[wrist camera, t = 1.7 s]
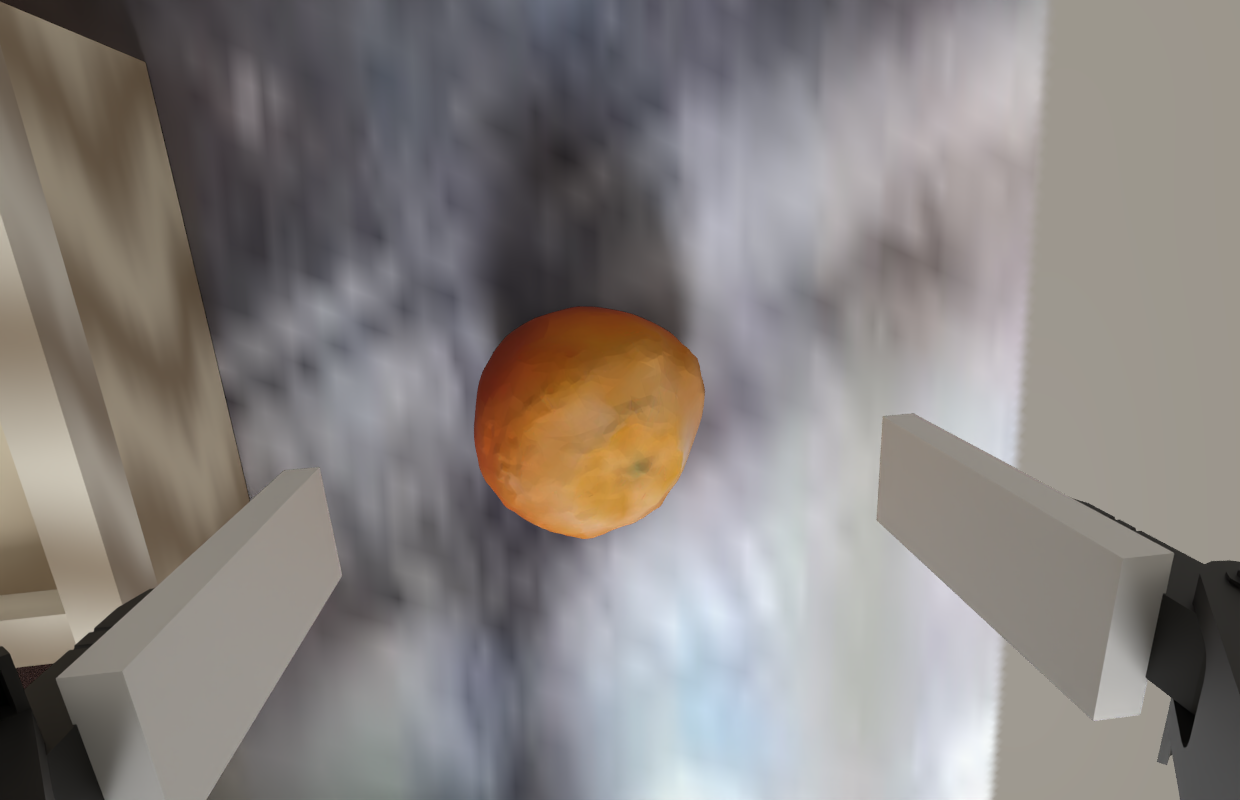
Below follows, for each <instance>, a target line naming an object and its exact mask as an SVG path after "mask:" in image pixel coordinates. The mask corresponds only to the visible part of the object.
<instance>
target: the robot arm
mask: <svg viewBox="0 0 1240 800" xmlns="http://www.w3.org/2000/svg"><path fill="white" fill-rule="evenodd" d="M877 521H878V522H879V523H880V524H881V525H882V526H884V527H885V528H886V529H887V530H888V531H889V532H890V533H891V534H892V535H893V536H894V537H895V538H896V539H898V540H899V541H900V542H901V543H902V544H903V545H904V546H905V547H906V548H907V549H908V550H909V551H910V552H912V553H913V554H914V555H915V556H916V557H917V558H918V559H919V560H920V561H921V562H922V563H923V564H924V565H925V566H927V567H928V568H929V569H930V570H931V571H932V572H933V573H934V574H935V575H936V576H937V577H938V578H939V579H941V580H942V581H943V582H944V583H945V584H946V585H947V586H948V587H949V588H950V589H951V590H952V591H953V592H955V593H956V594H957V595H958V596H959V597H960V598H961V599H962V600H963V601H964V602H965V603H966V604H967V605H969V606H970V607H971V608H972V609H973V610H974V611H975V612H976V613H977V614H978V615H979V616H980V617H981V618H983V619H984V620H985V621H986V622H987V623H988V624H989V625H990V626H991V627H992V628H993V629H994V630H995V631H997V632H998V633H999V634H1000V635H1001V636H1002V637H1003V638H1004V639H1005V640H1006V641H1007V642H1008V643H1009V644H1011V645H1012V646H1013V647H1014V648H1015V649H1016V650H1017V651H1018V652H1019V653H1020V654H1021V655H1022V656H1023V657H1025V658H1026V659H1027V660H1028V661H1029V662H1030V663H1031V664H1032V665H1033V666H1034V667H1035V668H1036V669H1037V670H1039V671H1040V672H1041V673H1042V674H1043V675H1044V676H1045V677H1046V678H1047V679H1048V680H1049V681H1050V682H1051V683H1053V684H1054V685H1055V686H1056V687H1057V688H1058V689H1059V690H1060V691H1061V692H1062V693H1063V694H1064V695H1066V696H1067V697H1068V698H1069V699H1070V700H1071V701H1072V702H1073V703H1074V704H1075V705H1076V706H1077V707H1078V708H1079V709H1081V710H1082V711H1083V712H1084V713H1085V714H1086V715H1087V716H1088V717H1089V718H1090V719H1091V720H1093V721H1097V720H1105V719H1112V718H1120V717H1127V716H1134V715H1140V713H1141V709H1142V704H1143V699H1144V694H1145V690H1146V685H1147V680H1149V681H1151V682H1152V683H1153V684H1155V685H1156V686H1157V687H1158V688H1160V689H1161V690H1162V691H1164V692H1165V693H1166V694H1167V695H1169V696H1170V697H1171V702H1170V706H1169V711H1168V715H1167V720H1166V724H1165V728H1164V733H1163V737H1162V742H1161V746H1160V751H1159V755H1158V759H1157V762H1159V763H1162V764H1166V765H1167V763H1168V760H1169V757H1170V756H1171V755H1173V761H1174V767H1175V773H1176V778H1177V784H1178V789H1179V795H1180V800H1240V562H1237V561H1212V562H1209V563H1207V564H1203V563H1201V562H1199V561H1197V560H1195V559H1193V558H1191V557H1189V556H1187V555H1186V554H1184V553H1182V552H1180V551H1178V550H1176V549H1174V548H1172V547H1170V546H1168V545H1167V544H1165V543H1163V542H1161V541H1159V540H1157V539H1155V538H1153V537H1151V536H1150V535H1147V534H1146V533H1144V532H1142V531H1136V529H1135V528H1134V527H1132V526H1130V525H1129V524H1127V523H1125V522H1123V521H1121V520H1115V517H1113V516H1112V515H1110V514H1108V513H1106V512H1104V511H1102V510H1100V509H1098V508H1096V507H1095V506H1093V505H1091V504H1089V503H1086V502H1083V501H1079V500H1076V499H1073V498H1071V497H1069V496H1067V495H1065V494H1063V493H1061V492H1059V491H1057V490H1056V489H1054V488H1052V487H1050V486H1048V485H1046V484H1044V483H1042V482H1041V481H1039V480H1037V479H1035V478H1033V477H1031V476H1029V475H1028V474H1026V473H1024V472H1022V471H1020V470H1018V469H1016V468H1015V467H1013V466H1011V465H1009V464H1007V463H1005V462H1003V461H1001V460H1000V459H998V458H996V457H994V456H992V455H990V454H988V453H986V452H985V451H983V450H981V449H979V448H977V447H975V446H973V445H971V444H970V443H968V442H966V441H964V440H962V439H960V438H958V437H957V436H955V435H953V434H951V433H949V432H947V431H945V430H943V429H942V428H940V427H938V426H936V425H934V424H932V423H930V422H928V421H927V420H925V419H923V418H921V417H919V416H917V415H915V414H914V413H913V414H901V415H890V416H883V422H882V438H881V455H880V472H879V488H878V505H877ZM341 577H342V573H341V568H340V563H339V558H338V553H337V549H336V544H335V539H334V534H333V530H332V525H331V520H330V515H329V510H328V506H327V501H326V496H325V491H324V486H323V482H322V477H321V472H320V467H316V468H304V469H293V470H284V471H283V472H282V473H281V474H279V475H278V476H277V477H276V478H275V479H274V480H273V481H272V482H271V483H270V484H269V485H267V486H266V487H265V488H264V489H263V490H262V491H261V492H260V493H259V494H258V495H256V496H255V497H254V498H253V499H252V500H251V501H250V502H249V503H248V504H247V505H245V506H244V507H243V508H242V509H241V510H240V511H239V512H238V513H237V514H236V515H235V516H233V517H232V518H231V519H230V520H229V521H228V522H227V523H226V524H225V525H224V526H222V527H221V528H220V529H219V530H218V531H217V532H216V533H215V534H214V535H213V536H211V537H210V538H209V539H208V540H207V541H206V542H205V543H204V544H203V545H202V546H200V547H199V548H198V549H197V550H196V551H195V552H194V553H193V554H192V555H191V556H190V557H188V558H187V559H186V560H185V561H184V562H183V563H182V564H181V565H180V566H179V567H177V568H176V569H175V570H174V571H173V572H172V573H171V574H170V575H169V576H168V577H166V578H165V579H164V580H163V581H162V582H161V583H160V584H159V585H158V586H157V587H156V588H152V589H149V590H147V591H145V592H144V593H142V594H140V595H138V596H137V597H135V598H133V599H131V600H130V601H128V602H126V603H125V604H123V605H121V606H119V607H118V608H116V609H115V610H114V611H113V612H112V613H111V614H110V615H108V616H107V617H106V618H105V619H104V620H103V621H102V622H101V623H99V624H98V625H97V626H96V627H95V628H94V632H89V633H88V634H87V635H86V636H85V637H83V638H82V639H81V640H80V641H79V642H78V643H77V644H75V645H74V650H69V651H67V652H66V653H65V654H64V655H63V656H62V657H61V658H60V659H58V660H57V661H56V662H55V663H54V664H53V665H52V666H50V667H49V668H48V669H47V670H46V671H45V672H44V673H42V674H41V675H40V676H39V677H38V678H37V679H36V680H34V681H33V682H32V683H31V684H30V685H29V686H28V687H27V688H25V689H24V688H23V686H22V683H21V681H20V678H19V676H18V673H17V670H16V668H15V665H14V663H13V660H12V658H11V655H10V653H9V652H8V651H7V650H6V649H5V648H4V647H3V646H0V800H207V798H208V796H209V795H210V793H211V791H212V790H213V788H214V786H215V785H216V783H217V781H218V780H219V778H220V776H221V775H222V773H223V771H224V770H225V768H226V766H227V765H228V763H229V762H230V760H231V758H232V757H233V755H234V753H235V752H236V750H237V748H238V747H239V745H240V743H241V742H242V740H243V738H244V737H245V735H246V733H247V732H248V730H249V729H250V727H251V725H252V724H253V722H254V720H255V719H256V717H257V715H258V714H259V712H260V710H261V709H262V707H263V705H264V704H265V702H266V700H267V699H268V697H269V695H270V694H271V692H272V691H273V689H274V687H275V686H276V684H277V682H278V681H279V679H280V677H281V676H282V674H283V672H284V671H285V669H286V667H287V666H288V664H289V662H290V661H291V659H292V658H293V656H294V654H295V653H296V651H297V649H298V648H299V646H300V644H301V643H302V641H303V639H304V638H305V636H306V634H307V633H308V631H309V629H310V628H311V626H312V624H313V623H314V621H315V620H316V618H317V616H318V615H319V613H320V611H321V610H322V608H323V606H324V605H325V603H326V601H327V600H328V598H329V596H330V595H331V593H332V591H333V590H334V588H335V587H336V585H337V583H338V582H339V580H340V578H341Z"/></svg>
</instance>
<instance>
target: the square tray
mask: <svg viewBox="0 0 1240 800" xmlns="http://www.w3.org/2000/svg"><path fill="white" fill-rule="evenodd" d="M249 502H250V500H249V496H248V492H247V488H246V483H245V479H244V475H243V471H242V467H241V462H240V458H239V454H238V450H237V446H236V441H235V437H234V433H233V429H232V425H231V420H230V416H229V412H228V408H227V404H226V399H225V395H224V391H223V387H222V383H221V378H220V374H219V370H218V366H217V362H216V357H215V353H214V349H213V345H212V341H211V336H210V332H209V328H208V324H207V319H206V315H205V311H204V307H203V303H202V298H201V294H200V290H199V286H198V282H197V277H196V273H195V269H194V265H193V261H192V256H191V252H190V248H189V244H188V240H187V235H186V231H185V227H184V223H183V219H182V214H181V210H180V206H179V202H178V198H177V193H176V189H175V185H174V181H173V177H172V172H171V168H170V164H169V160H168V156H167V151H166V147H165V143H164V139H163V134H162V130H161V126H160V122H159V118H158V113H157V109H156V105H155V101H154V97H153V92H152V88H151V84H150V80H149V76H148V71H147V67H146V63H145V62H143V61H141V60H139V59H136V58H134V57H131V56H129V55H127V54H124V53H122V52H119V51H117V50H115V49H112V48H110V47H108V46H105V45H103V44H100V43H98V42H96V41H93V40H91V39H88V38H86V37H84V36H81V35H79V34H76V33H74V32H72V31H69V30H67V29H65V28H62V27H60V26H57V25H55V24H53V23H50V22H48V21H45V20H43V19H41V18H38V17H36V16H33V15H31V14H29V13H26V12H24V11H21V10H19V9H17V8H14V7H12V6H10V5H7V4H5V3H2V2H0V646H3V647H4V648H5V649H6V650H7V651H8V652H9V653H10V655H11V658H12V660H13V663H14V665H15V668H18V667H26V666H35V665H44V664H52V663H55V662H56V661H57V660H58V659H60V658H61V657H62V656H63V655H64V654H65V653H66V652H67V651H69V650H74V645H75V644H77V643H78V642H79V641H80V640H81V639H82V638H83V637H85V636H86V635H87V634H88V633H89V632H94V628H95V627H96V626H97V625H98V624H99V623H101V622H102V621H103V620H104V619H105V618H106V617H107V616H108V615H110V614H111V613H112V612H113V611H114V610H115V609H116V608H118V607H119V606H121V605H123V604H125V603H126V602H128V601H130V600H131V599H133V598H135V597H137V596H138V595H140V594H142V593H144V592H145V591H147V590H149V589H152V588H156V587H157V586H158V585H159V584H160V583H161V582H162V581H163V580H164V579H165V578H166V577H168V576H169V575H170V574H171V573H172V572H173V571H174V570H175V569H176V568H177V567H179V566H180V565H181V564H182V563H183V562H184V561H185V560H186V559H187V558H188V557H190V556H191V555H192V554H193V553H194V552H195V551H196V550H197V549H198V548H199V547H200V546H202V545H203V544H204V543H205V542H206V541H207V540H208V539H209V538H210V537H211V536H213V535H214V534H215V533H216V532H217V531H218V530H219V529H220V528H221V527H222V526H224V525H225V524H226V523H227V522H228V521H229V520H230V519H231V518H232V517H233V516H235V515H236V514H237V513H238V512H239V511H240V510H241V509H242V508H243V507H244V506H245V505H247V504H248V503H249Z"/></svg>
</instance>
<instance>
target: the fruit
mask: <svg viewBox="0 0 1240 800" xmlns="http://www.w3.org/2000/svg"><path fill="white" fill-rule="evenodd" d="M704 396H705V389H704V384H703V380H702V377H701V372H700V366H699V363H698V359H697V358H696V356H694V355H693V354H692V353H691V351H690V350H689V349H688V348H687V347H686V346H684V345H683V344H682V343H681V342H680V341H679V340H678V339H677V338H676V337H675V336H674V335H673V334H671V333H670V332H669V331H667V330H665V329H664V328H662V327H660V326H658V325H656V324H654V323H652V322H650V321H648V320H646V319H644V318H641V317H639V316H636V315H633V314H630V313H627V312H622V311H617V310H613V309H607V308H600V307H580V306H579V307H571V308H567V309H564V310H560V311H556V312H552V313H549V314H546V315H543V316H540V317H537V318H534V319H532V320H530V321H528V322H526V323H525V324H523V325H521V326H520V327H518V328H517V329H515V330H514V331H512V332H511V333H510V334H509V335H507V336H506V337H505V338H504V339H503V341H502V342H501V343H500V344H499V345H498V347H497V348H496V350H495V351H494V352H493V354H492V356H491V358H490V360H489V361H488V363H487V365H486V367H485V368H484V370H483V372H482V375H481V378H480V381H479V386H478V392H477V399H476V410H475V422H474V440H475V447H476V452H477V457H478V462H479V467H480V470H481V472H482V475H483V477H484V479H485V481H486V482H487V483H488V485H489V486H490V487H491V488H492V489H493V491H494V492H495V493H496V494H497V496H498V497H499V498H500V499H501V501H502V502H503V504H504V505H505V506H506V507H507V508H508V509H510V510H512V511H514V512H515V513H517V514H518V515H519V516H521V517H522V518H524V519H525V520H527V521H529V522H531V523H533V524H535V525H537V526H539V527H541V528H543V529H546V530H549V531H551V532H555V533H560V534H564V535H566V536H573V537H577V538H581V539H587V538H594V537H597V536H599V535H602V534H605V533H607V532H609V531H611V530H614V529H617V528H619V527H622V526H626V525H629V524H632V523H635V522H637V521H638V520H640V519H642V518H644V517H645V516H646V515H648V514H649V513H651V512H652V511H653V510H655V509H657V508H659V507H660V506H661V505H662V503H663V501H664V499H665V498H666V496H667V495H668V493H669V491H670V490H671V489H672V487H673V486H674V485H675V484H676V482H677V481H678V479H679V477H680V475H681V473H682V471H683V469H684V466H685V464H686V461H687V458H688V456H689V453H690V450H691V447H692V444H693V441H694V438H695V436H696V433H697V430H698V427H699V424H700V421H701V417H702V413H703V406H704Z"/></svg>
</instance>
